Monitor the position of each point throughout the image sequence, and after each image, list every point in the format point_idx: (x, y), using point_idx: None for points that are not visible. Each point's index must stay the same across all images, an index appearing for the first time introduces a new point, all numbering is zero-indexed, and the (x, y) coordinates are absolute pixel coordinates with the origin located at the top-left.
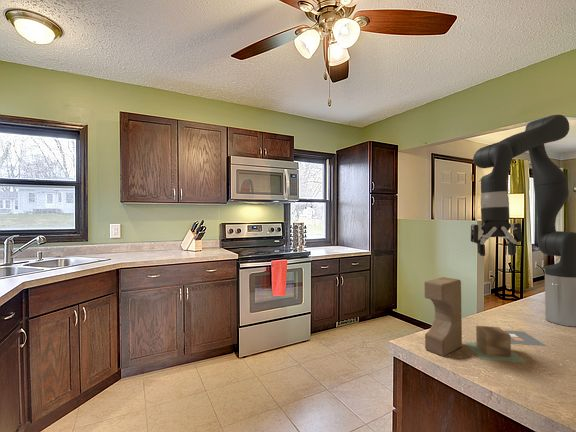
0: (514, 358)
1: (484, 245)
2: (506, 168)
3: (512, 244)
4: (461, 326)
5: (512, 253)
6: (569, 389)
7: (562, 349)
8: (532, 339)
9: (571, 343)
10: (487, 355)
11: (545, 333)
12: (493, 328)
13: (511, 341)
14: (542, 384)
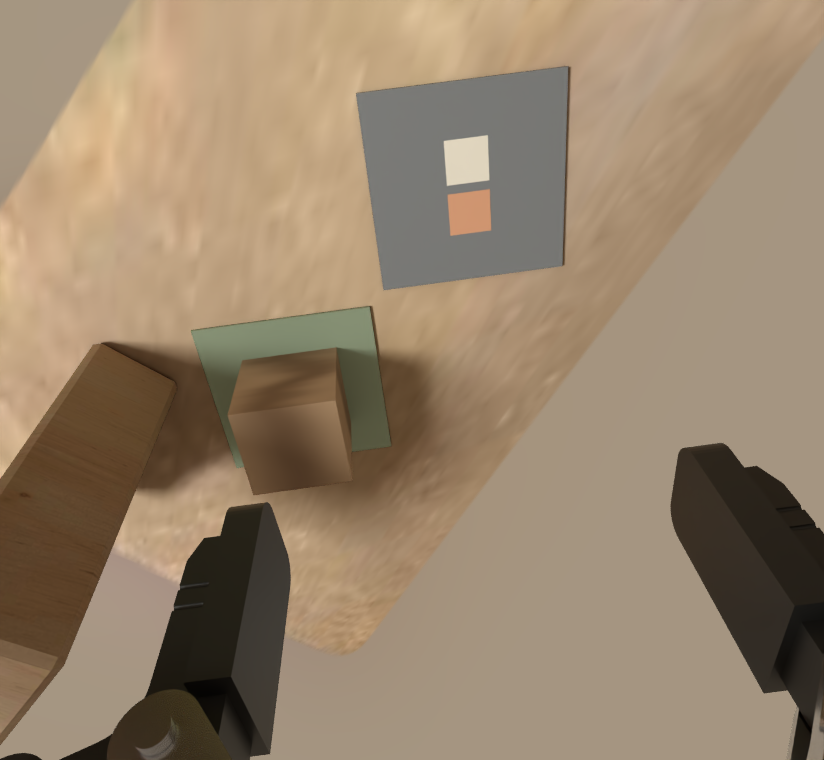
0: (360, 429)
1: (263, 742)
2: None
3: (777, 682)
4: (153, 446)
5: (689, 542)
6: (431, 550)
7: (609, 277)
8: (544, 195)
9: (711, 185)
10: None
11: (687, 51)
12: (304, 425)
13: (421, 259)
14: (373, 548)
